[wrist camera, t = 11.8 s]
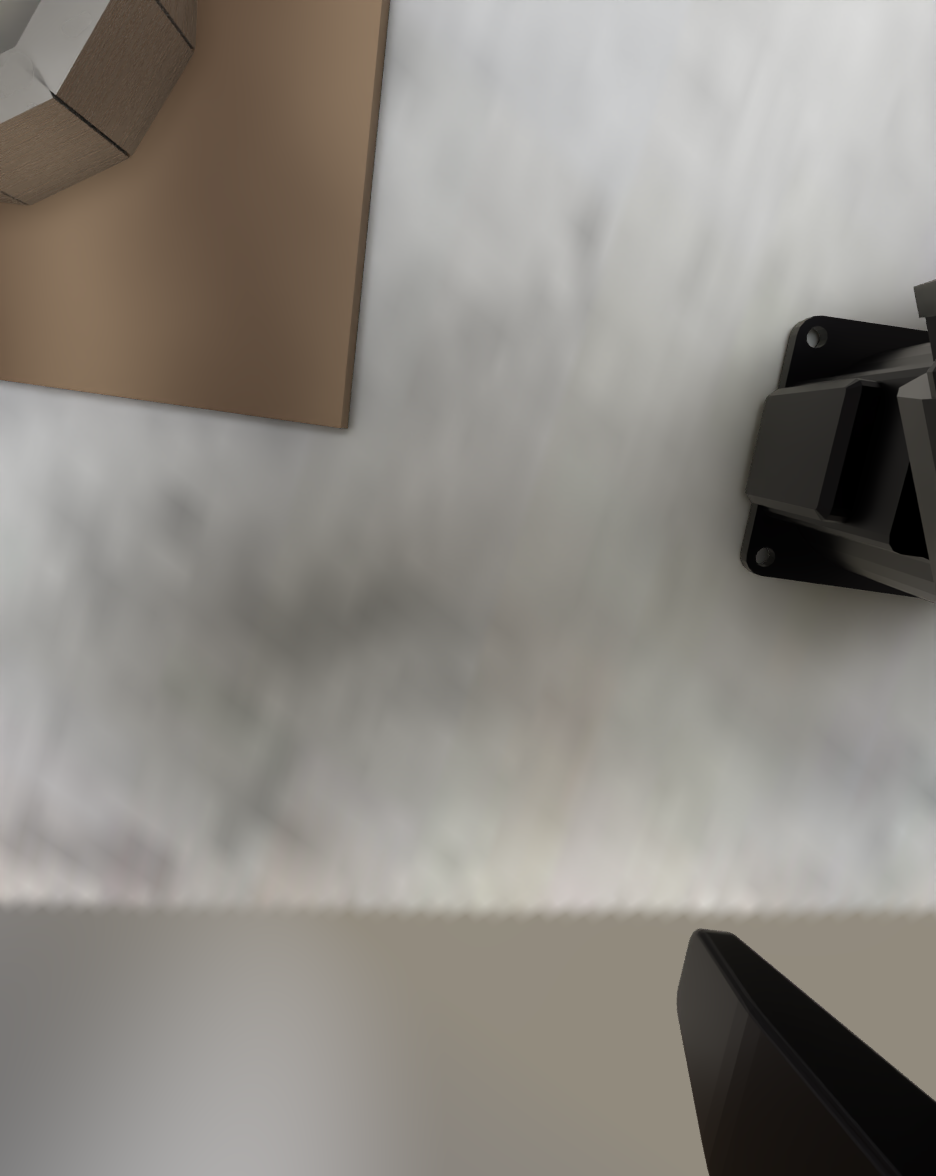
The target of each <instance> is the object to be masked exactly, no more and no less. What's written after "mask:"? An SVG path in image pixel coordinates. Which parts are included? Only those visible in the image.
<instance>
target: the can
mask: <svg viewBox="0 0 936 1176" xmlns="http://www.w3.org/2000/svg"><path fill="white" fill-rule="evenodd" d="M40 1H41V0H0V54H1V53H3V52H5V51H7V50H9V49H11V48H13V47H15V46H16V44H17V43H18V41H19V39H20V37H21V35H22V34H23V32H24V30H25V28H26V26H27V25H28V23H29V21H30V19H31V17H32V16H33V14H34V12H35V10H36V8H37V7H38V5H39V3H40Z"/></svg>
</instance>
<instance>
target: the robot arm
mask: <svg viewBox="0 0 936 1176" xmlns="http://www.w3.org/2000/svg"><path fill="white" fill-rule="evenodd" d="M914 292H915V298H916V303H917V308H918V314H919V318H921V317H925V318H926V324H927V329H928V331H922V330H915V329H909V328H902V327H895V326H888V325H882V324H875V323H868V322H861V321H854V320H848V319H841V318H834V317H827V316H813V317H810V318H807V319H805V320H803V321H801V322H799V323H798V324H797V325H796V326H795V327H794V328H793V330H792V332H791V335H790V338H789V342H788V347H787V351H786V355H785V360H784V364H783V369H782V373H781V377H780V382H779V386H778V389H777V390H776V391H775V392H773V393H772V394H771V395H769V396H768V397H767V398H766V402H765V406H764V411H763V415H762V420H761V424H760V429H759V433H758V438H757V442H756V446H755V451H754V455H753V460H752V464H751V469H750V473H749V478H748V482H747V487H746V494H747V496H748V497H749V499H750V501H751V502H752V505H751V510H750V514H749V518H748V523H747V527H746V532H745V536H744V540H743V545H742V549H741V561H742V564H743V566H744V567H745V568H746V569H747V570H749V571H751V572H753V573H755V574H758V575H760V576H767V577H774V578H781V579H788V580H795V581H802V582H810V583H817V584H824V585H831V586H838V587H846V588H853V589H860V590H867V591H874V592H881V593H889V594H896V595H903V596H910V597H917V598H923V599H925V600H928V601H931V602H933V603H936V279H935V280H932V281H929V282H926V283H924V284H921V285H918V286H915V287H914ZM810 329H814V330H817V332H818V333H819V335H820V341H819V343H818V345H817V346H816V347H815V348H813V347H811V346H809V344H808V343H807V334H808V332H809V330H810ZM762 548H767V549H768V551H769V557H768V558H767V560H766V561H765V562H763V563H761V564H758V563H757V562H756V554H757V552H758V551H759V550H760V549H762ZM677 1013H678V1019H679V1024H680V1030H681V1035H682V1040H683V1045H684V1051H685V1055H686V1061H687V1066H688V1071H689V1077H690V1082H691V1087H692V1093H693V1097H694V1103H695V1109H696V1114H697V1119H698V1124H699V1129H700V1135H701V1140H702V1145H703V1150H704V1154H705V1159H706V1164H707V1169H708V1172H709V1176H936V1101H935V1100H933V1099H932V1098H931V1097H930V1096H929V1095H927V1094H926V1093H925V1092H924V1091H923V1090H921V1089H920V1088H919V1087H918V1086H916V1085H915V1084H914V1083H913V1082H912V1081H910V1080H909V1079H908V1078H907V1077H906V1076H904V1075H903V1074H902V1073H901V1072H900V1071H898V1070H897V1069H896V1068H895V1067H894V1066H892V1065H891V1064H890V1063H889V1062H887V1061H886V1060H885V1059H884V1058H883V1057H881V1056H880V1055H879V1054H878V1053H876V1052H875V1051H874V1050H873V1049H872V1048H871V1047H869V1046H868V1045H867V1044H866V1043H865V1042H863V1041H862V1040H861V1039H860V1038H858V1037H857V1036H856V1035H855V1034H854V1033H853V1032H851V1031H850V1030H848V1028H847V1027H845V1026H844V1025H843V1024H841V1023H840V1022H839V1021H838V1020H837V1019H836V1018H834V1017H833V1016H832V1015H831V1014H830V1013H828V1012H827V1011H826V1010H825V1009H824V1008H822V1007H821V1006H820V1005H819V1004H818V1003H816V1002H815V1001H814V1000H813V999H812V998H810V997H809V996H808V995H807V994H806V993H804V992H803V991H802V990H801V989H799V988H798V987H797V986H796V985H795V984H793V983H792V982H791V981H790V980H789V979H787V978H786V977H785V976H784V975H783V974H781V973H780V972H779V971H778V970H777V969H775V968H774V967H773V966H772V965H771V964H769V963H768V962H767V961H766V960H765V959H763V958H762V957H761V956H760V955H758V954H757V953H756V952H755V951H754V950H752V949H751V948H750V947H749V946H748V945H746V944H745V943H744V942H743V941H742V940H740V939H739V938H738V937H737V936H735V935H734V934H732V933H730V932H724V931H717V930H709V929H697V930H696V931H694V932H693V934H692V936H691V937H690V940H689V944H688V949H687V952H686V956H685V961H684V965H683V969H682V974H681V978H680V982H679V986H678V991H677Z"/></svg>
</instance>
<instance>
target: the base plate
mask: <svg viewBox="0 0 936 1176" xmlns="http://www.w3.org/2000/svg"><path fill="white" fill-rule="evenodd" d="M389 6H390V0H198V1H197V22H196V43H195V49H191V50H192V51H193V52H194V54H193V56H192V58H191V59H190V61H189V62H188V64H187V66H186V67H185V69H184V71H183V72H182V74H181V76H180V77H179V79H178V81H177V82H176V84H175V86H174V87H173V89H172V91H171V92H170V94H169V96H168V97H167V99H166V101H165V102H164V104H163V106H162V107H161V109H160V110H159V112H158V114H157V115H156V117H155V119H154V120H153V122H152V124H151V125H150V127H149V129H148V130H147V132H146V134H145V135H144V137H143V139H142V140H141V142H140V144H139V145H138V147H137V149H136V150H135V152H134V153H133V155H132V156H131V155H130V154H129V153H127V154H128V156H129V159H127V160H125V161H123V162H121V163H119V164H116V165H114V166H112V167H110V168H108V169H106V170H104V171H102V172H100V173H98V174H95V175H93V176H91V177H89V178H87V179H85V180H83V181H81V182H79V183H76V184H74V185H72V186H70V187H68V188H66V189H64V190H62V191H60V192H58V193H55V194H53V195H51V196H49V197H47V198H45V199H43V200H41V201H39V202H36V203H34V204H32V205H29V204H27V206H25V205H18V204H11V203H4V202H0V380H5V381H12V382H19V383H26V384H33V385H41V386H48V387H55V388H62V389H69V390H76V391H83V392H90V393H97V394H104V395H111V396H118V397H125V398H132V399H139V400H146V401H153V402H160V403H167V404H174V405H181V406H188V407H195V408H202V409H209V410H217V411H224V412H231V413H238V414H245V415H252V416H259V417H266V418H273V419H280V420H287V421H294V422H301V423H308V424H315V425H322V426H329V427H336V428H348V419H349V409H350V399H351V389H352V379H353V369H354V359H355V349H356V339H357V328H358V318H359V308H360V298H361V288H362V278H363V268H364V258H365V248H366V238H367V228H368V217H369V207H370V197H371V187H372V177H373V167H374V157H375V147H376V137H377V127H378V117H379V107H380V96H381V86H382V76H383V66H384V56H385V46H386V36H387V26H388V16H389Z"/></svg>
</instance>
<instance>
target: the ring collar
mask: <svg viewBox="0 0 936 1176" xmlns="http://www.w3.org/2000/svg"><path fill="white" fill-rule="evenodd" d="M197 1H198V0H41V1H40V3H39V5H38V7H37V8H36V10H35V12H34V14H33V16H32V17H31V19H30V21H29V23H28V25H27V26H26V28H25V30H24V32H23V34H22V35H21V37H20V39H19V41H18V43H17V44H16V46H15V47H13V48H11V49H9V50H7V51H5V52H3V53H1V54H0V202H4V203H11V204H18V205H25V206H27V204H29V205H32V204H34V203H36V202H39V201H41V200H43V199H45V198H47V197H49V196H51V195H53V194H55V193H58V192H60V191H62V190H64V189H66V188H68V187H70V186H72V185H74V184H76V183H79V182H81V181H83V180H85V179H87V178H89V177H91V176H93V175H95V174H98V173H100V172H102V171H104V170H106V169H108V168H110V167H112V166H114V165H116V164H119V163H121V162H123V161H125V160H127V159H129V156H128V154H127V153H129V154H130V155H131V156H132V155H133V153H134V152H135V150H136V149H137V147H138V145H139V144H140V142H141V140H142V139H143V137H144V135H145V134H146V132H147V130H148V129H149V127H150V125H151V124H152V122H153V120H154V119H155V117H156V115H157V114H158V112H159V110H160V109H161V107H162V106H163V104H164V102H165V101H166V99H167V97H168V96H169V94H170V92H171V91H172V89H173V87H174V86H175V84H176V82H177V81H178V79H179V77H180V76H181V74H182V72H183V71H184V69H185V67H186V66H187V64H188V62H189V61H190V59H191V58H192V56H193V54H194V52H193V51H192V50H191V49H195V43H196V22H197Z"/></svg>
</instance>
